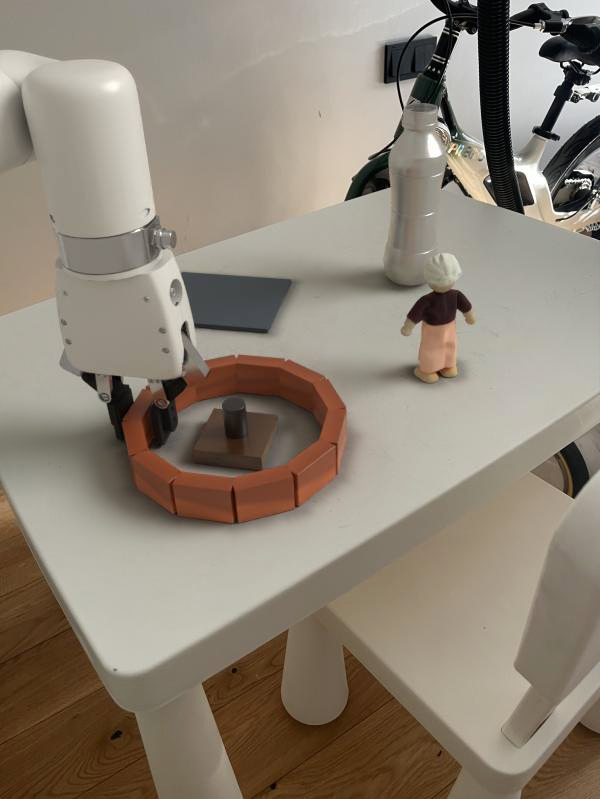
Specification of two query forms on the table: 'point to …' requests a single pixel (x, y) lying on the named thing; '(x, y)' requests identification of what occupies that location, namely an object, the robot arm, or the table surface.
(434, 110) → the plastic bottle
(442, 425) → the table surface
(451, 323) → the grandmother figurine
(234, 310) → the mat
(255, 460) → the post
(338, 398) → the hoop
